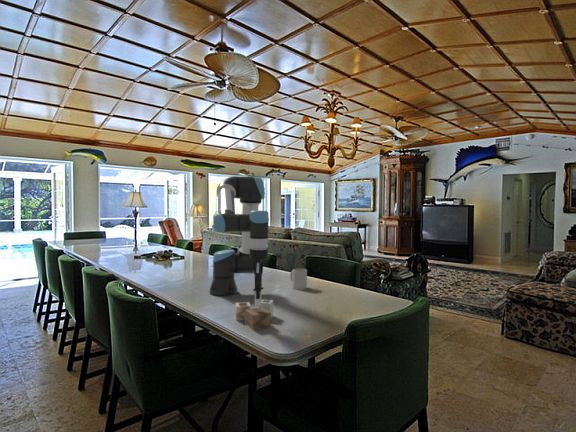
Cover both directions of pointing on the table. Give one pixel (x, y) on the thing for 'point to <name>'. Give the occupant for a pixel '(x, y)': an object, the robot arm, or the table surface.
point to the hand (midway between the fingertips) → (257, 305)
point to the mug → (299, 278)
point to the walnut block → (258, 318)
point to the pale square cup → (267, 305)
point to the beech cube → (241, 310)
